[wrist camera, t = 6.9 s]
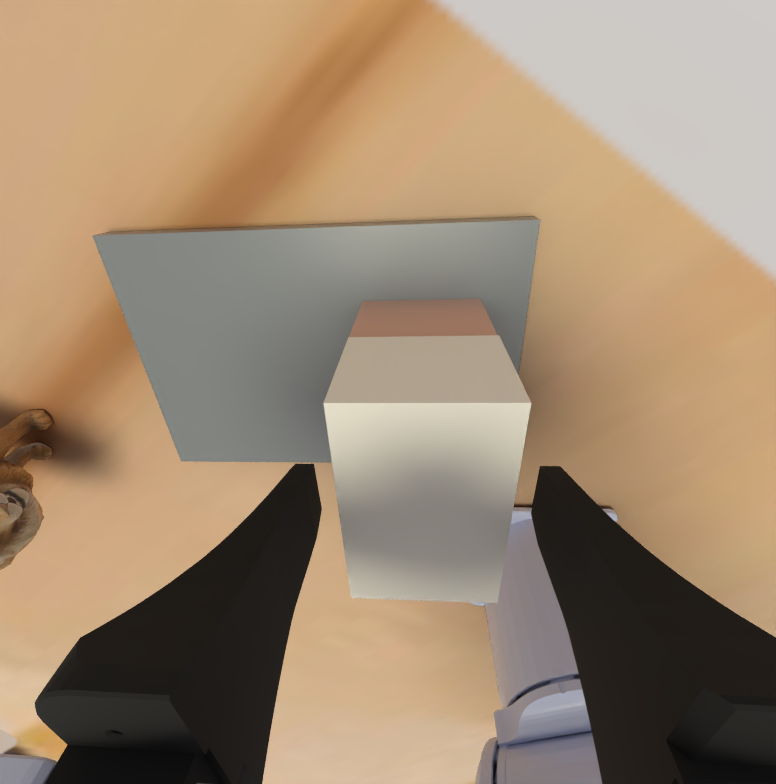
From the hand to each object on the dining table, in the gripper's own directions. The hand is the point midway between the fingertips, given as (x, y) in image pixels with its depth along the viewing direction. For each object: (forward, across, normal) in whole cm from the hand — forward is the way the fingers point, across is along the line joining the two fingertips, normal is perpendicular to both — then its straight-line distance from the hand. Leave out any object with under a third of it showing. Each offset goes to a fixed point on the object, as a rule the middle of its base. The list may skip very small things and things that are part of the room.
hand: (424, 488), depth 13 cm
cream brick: (+3, 0, 0) cm, 3 cm away
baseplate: (+8, +4, -1) cm, 9 cm away
